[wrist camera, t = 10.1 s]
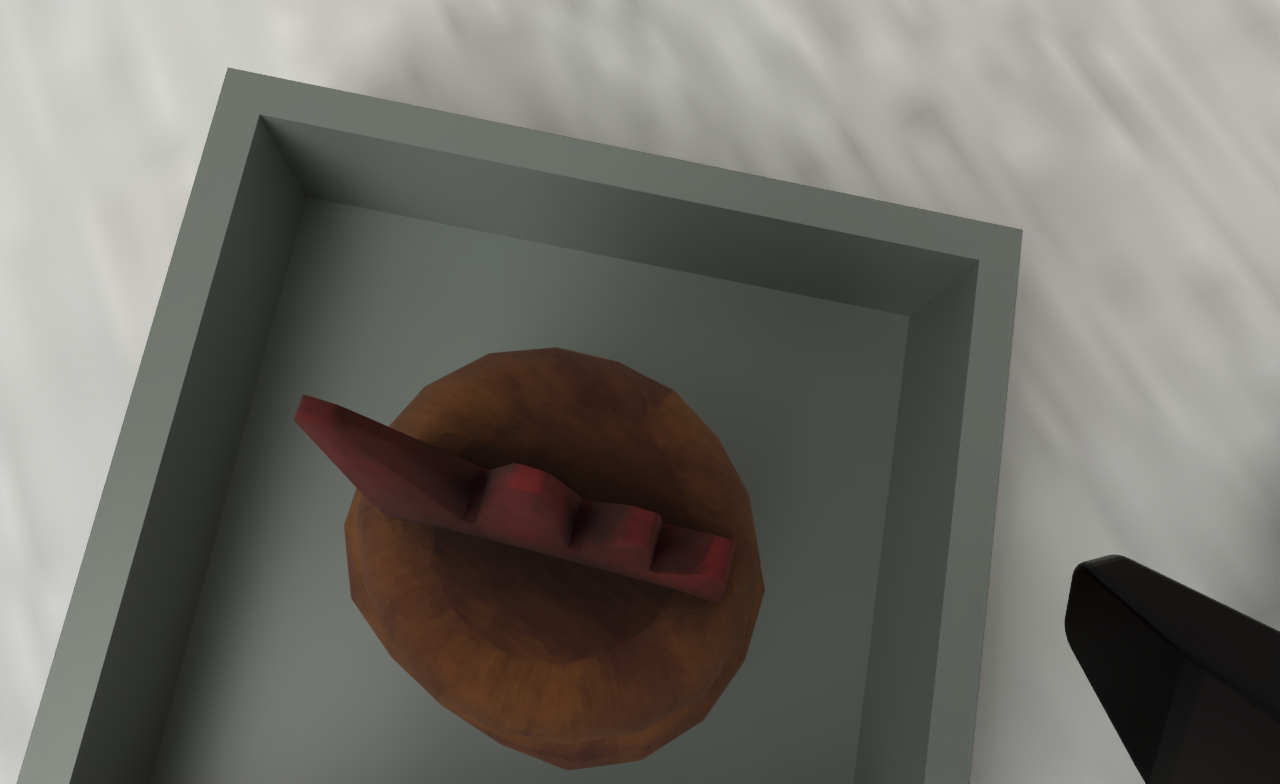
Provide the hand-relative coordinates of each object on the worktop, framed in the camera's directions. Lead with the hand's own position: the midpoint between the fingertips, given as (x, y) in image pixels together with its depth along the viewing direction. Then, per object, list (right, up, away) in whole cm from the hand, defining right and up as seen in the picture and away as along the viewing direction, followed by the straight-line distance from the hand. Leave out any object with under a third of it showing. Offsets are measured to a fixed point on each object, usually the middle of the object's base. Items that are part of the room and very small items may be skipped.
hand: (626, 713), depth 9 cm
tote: (-2, -1, +13) cm, 13 cm away
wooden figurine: (-2, -1, +13) cm, 13 cm away
